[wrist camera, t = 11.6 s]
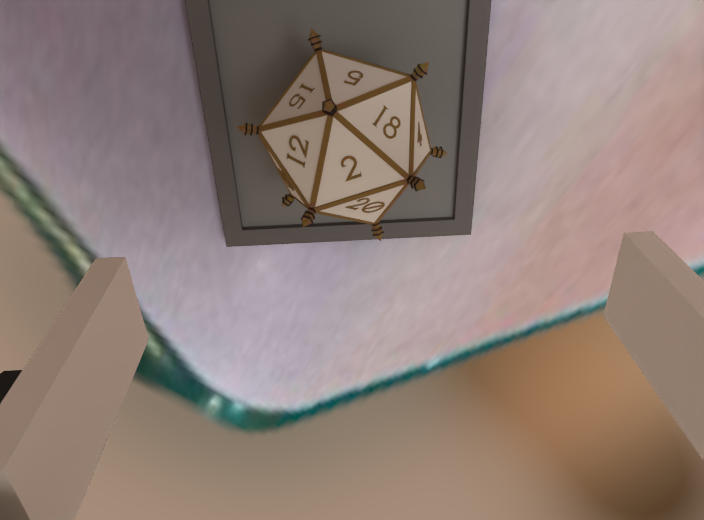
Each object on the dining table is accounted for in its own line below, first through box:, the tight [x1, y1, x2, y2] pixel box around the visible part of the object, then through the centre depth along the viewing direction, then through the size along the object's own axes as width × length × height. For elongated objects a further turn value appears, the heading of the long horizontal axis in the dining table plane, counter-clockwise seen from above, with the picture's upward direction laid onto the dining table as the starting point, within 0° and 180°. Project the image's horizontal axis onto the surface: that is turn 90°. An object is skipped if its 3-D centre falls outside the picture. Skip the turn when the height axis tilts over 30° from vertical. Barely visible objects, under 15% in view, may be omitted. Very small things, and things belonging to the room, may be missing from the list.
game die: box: [237, 28, 448, 241], centre depth 26 cm, size 9×8×10 cm
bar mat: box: [185, 0, 491, 247], centre depth 29 cm, size 14×14×1 cm
